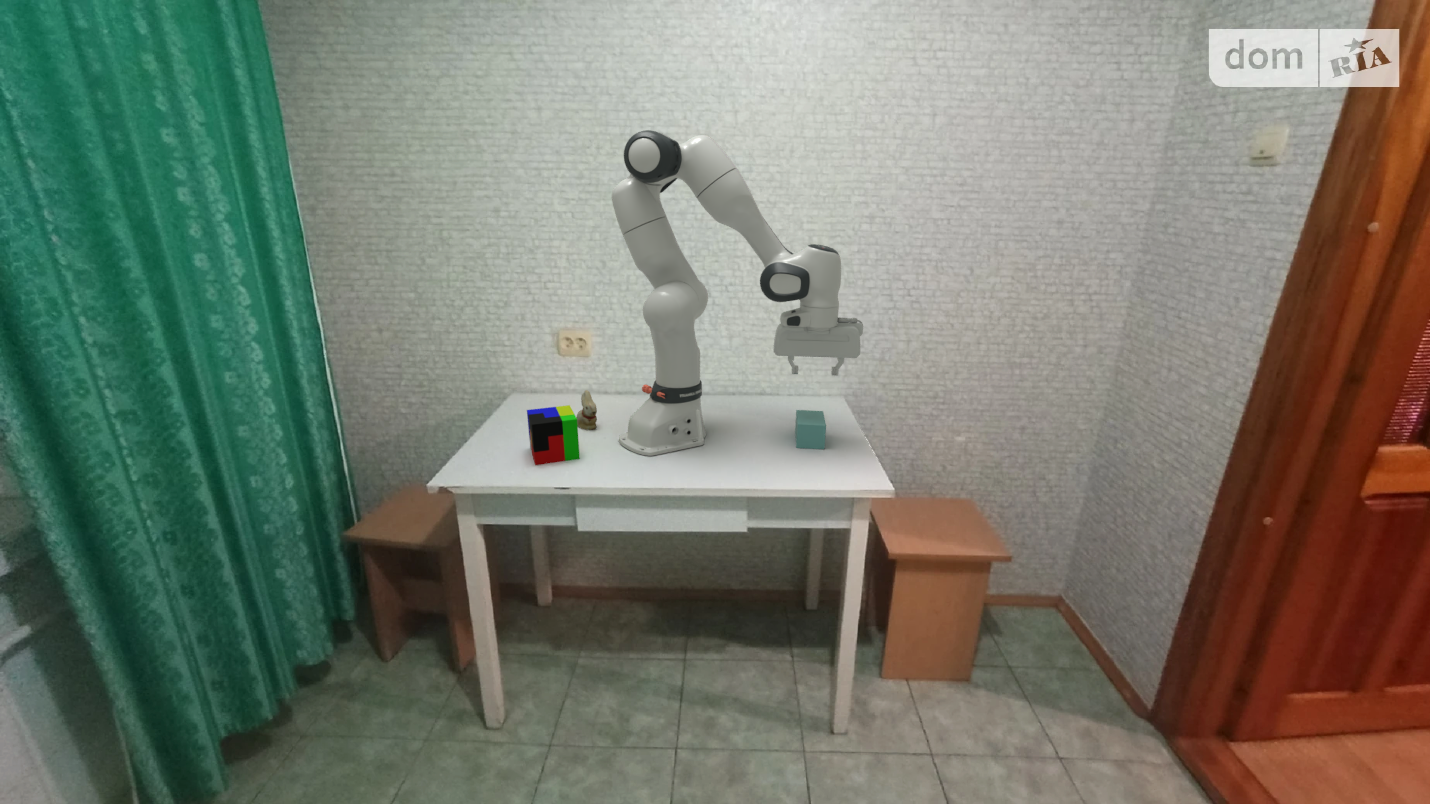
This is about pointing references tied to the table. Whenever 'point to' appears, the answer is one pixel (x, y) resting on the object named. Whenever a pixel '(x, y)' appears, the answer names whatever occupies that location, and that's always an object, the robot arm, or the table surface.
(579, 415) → the chocolate bunny
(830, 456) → the table surface
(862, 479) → the table surface
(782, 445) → the table surface
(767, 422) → the table surface
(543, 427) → the puzzle toy
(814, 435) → the teal rectangular box
